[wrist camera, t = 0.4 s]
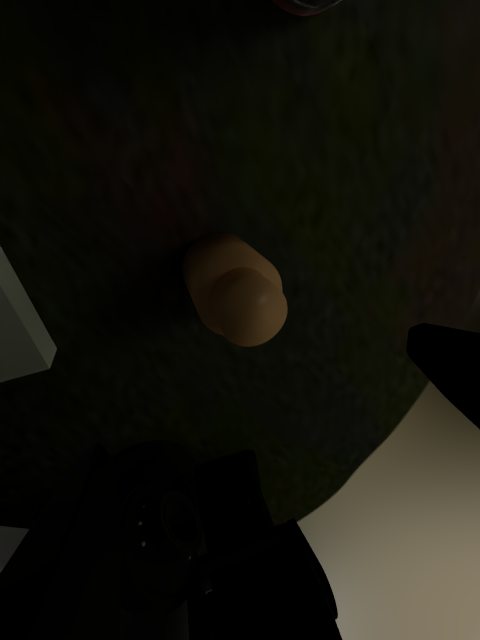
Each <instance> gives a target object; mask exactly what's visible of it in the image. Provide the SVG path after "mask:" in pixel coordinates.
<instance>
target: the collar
mask: <svg viewBox="0 0 480 640" xmlns="http://www.w3.org/2000/svg"><path fill="white" fill-rule="evenodd" d="M56 350H57V348H56V346H55V344H54V342H53V340H52V339H51V337H50V335H49V333H48V331H47V330H46V328H45V326H44V324H43V322H42V321H41V319H40V317H39V315H38V313H37V312H36V310H35V308H34V306H33V304H32V302H31V301H30V299H29V297H28V295H27V293H26V292H25V290H24V288H23V286H22V284H21V283H20V281H19V279H18V277H17V275H16V273H15V272H14V270H13V268H12V266H11V264H10V263H9V261H8V259H7V257H6V255H5V254H4V252H3V250H2V248H1V246H0V382H3V381H7V380H11V379H14V378H18V377H21V376H25V375H29V374H32V373H36V372H40V371H43V370H47V369H50V366H51V364H52V361H53V358H54V356H55V353H56Z"/></svg>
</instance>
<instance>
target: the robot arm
mask: <svg viewBox="0 0 480 640" xmlns="http://www.w3.org/2000/svg"><path fill="white" fill-rule="evenodd" d="M407 353H408V355H409V357H410V358H411V359H412V361H413V362H414V363H415V364H416V365H417V366H418V367H419V368H420V370H421V371H422V372H423V373H424V374H425V375H426V376H427V377H428V379H429V380H430V381H431V382H432V383H433V384H434V385H435V386H436V387H437V389H438V390H439V391H440V392H441V393H442V394H443V395H444V396H445V397H446V398H447V399H448V400H449V401H450V402H451V403H452V404H453V405H454V406H455V407H456V408H458V410H460V411H461V412H462V413H463V414H464V415H465V416H466V417H467V418H468V419H469V420H470V421H471V422H473V424H475V425H476V426H477V427H478V428H479V429H480V333H476V332H470V331H465V330H460V329H454V328H449V327H443V326H438V325H433V324H427V323H421V324H418V325H416V326H413V327H411V328H410V330H409V332H408V341H407ZM188 488H189V490H190V493H191V495H192V498H193V501H194V503H195V506H196V508H197V511H198V514H199V515H201V520H202V525H203V531H204V536H205V541H206V546H207V551H208V553H207V554H204V555H202V556H199V557H197V561H196V570H195V575H194V580H193V588H192V590H191V592H190V594H189V596H188V598H187V606H188V624H189V640H342V638H341V635H340V632H339V629H338V627H337V624H336V621H335V619H337V617H338V613H337V606H336V602H335V599H334V595H333V592H332V589H331V587H330V584H329V581H328V579H327V577H326V574H325V572H324V570H323V568H322V566H321V564H320V563H319V561H318V559H317V557H316V555H315V554H314V552H313V550H312V548H311V547H310V545H309V543H308V542H307V540H306V538H305V536H304V534H303V533H302V531H301V529H300V527H299V526H298V524H297V522H296V520H295V519H294V518H293V519H290V520H288V522H286V523H284V524H281V525H278V526H276V527H275V526H274V523H273V521H272V518H271V516H270V513H269V511H268V508H267V505H266V503H265V500H264V498H263V495H262V492H261V486H260V480H259V474H258V468H257V462H256V456H255V453H254V451H252V450H249V451H246V452H243V453H241V454H238V455H235V456H233V457H230V458H227V459H225V460H222V461H219V462H216V463H214V464H211V465H208V466H206V467H203V468H200V469H198V470H195V473H194V476H193V479H192V481H191V483H190V484H189V485H188ZM121 570H122V527H121V515H120V504H119V493H118V481H117V471H116V466H115V464H114V462H113V460H112V458H111V457H110V455H109V454H108V452H107V451H106V449H105V448H104V446H103V445H102V444H101V443H96V444H94V445H91V446H88V447H86V448H84V449H82V450H81V452H80V453H79V455H78V456H77V458H76V459H75V461H74V462H73V464H72V465H71V467H70V468H69V470H68V471H67V473H66V474H65V476H64V477H63V479H62V480H61V482H60V483H59V485H58V486H57V488H56V489H55V491H54V492H53V494H52V495H51V497H50V498H49V500H48V501H47V503H46V504H45V506H44V507H43V509H42V511H41V512H40V514H39V515H38V517H37V518H36V520H35V521H34V523H33V524H32V526H31V527H30V529H29V530H28V532H27V533H26V535H25V536H24V538H23V539H22V541H21V542H20V544H19V545H18V547H17V548H16V550H15V551H14V553H13V554H12V556H11V557H10V559H9V560H8V562H7V563H6V565H5V567H4V568H3V570H2V571H1V573H0V640H120V616H121ZM211 589H212V591H211V592H208V593H207V595H206V591H209V590H211Z"/></svg>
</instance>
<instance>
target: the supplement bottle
mask: <svg viewBox="0 0 480 640" xmlns="http://www.w3.org/2000/svg"><path fill="white" fill-rule="evenodd" d="M271 1H272V2H273V3H274V4H275V5H277V6H278V7H279V8H281V9H283V10H284V11H286V12H289V13H291V14H294V15H301V16H310V15H315V14H318V13H320V12H322V11H324V10H327V9H328V8H330V7H331V6H333V5H335V4H337V3H338V2H340V1H341V0H271Z"/></svg>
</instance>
